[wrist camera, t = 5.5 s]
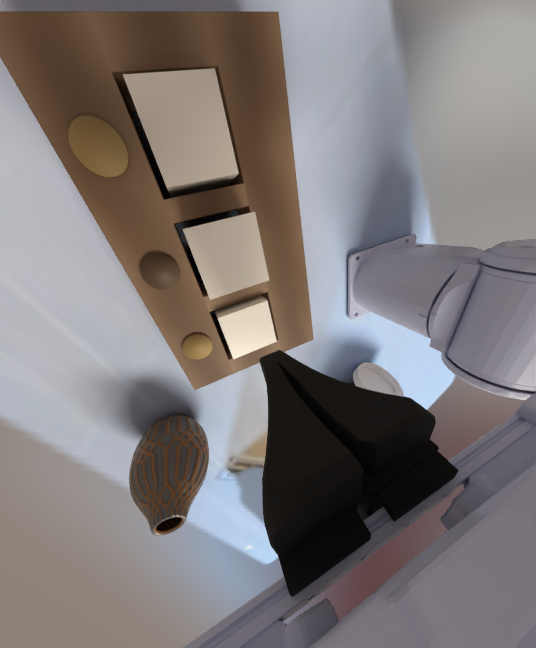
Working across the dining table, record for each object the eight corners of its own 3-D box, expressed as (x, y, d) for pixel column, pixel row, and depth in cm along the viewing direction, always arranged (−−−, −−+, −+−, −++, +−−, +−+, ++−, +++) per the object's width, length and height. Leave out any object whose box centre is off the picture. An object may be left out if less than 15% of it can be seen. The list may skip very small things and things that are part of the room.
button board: (256, 62, 12) (279, 7, 9) (296, 324, 22) (314, 340, 19) (36, 75, 10) (-32, 6, 7) (193, 366, 20) (195, 391, 17)
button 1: (206, 111, 12) (214, 68, 9) (225, 186, 14) (238, 173, 11) (140, 119, 12) (122, 74, 8) (170, 197, 14) (166, 187, 10)
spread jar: (318, 427, 34) (372, 509, 24) (311, 383, 28) (379, 466, 18) (373, 396, 36) (442, 459, 27) (377, 350, 31) (467, 407, 21)
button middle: (238, 215, 14) (255, 211, 11) (251, 269, 16) (269, 280, 13) (182, 228, 13) (182, 229, 10) (204, 284, 15) (210, 299, 12)
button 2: (252, 287, 18) (267, 300, 15) (261, 322, 20) (276, 341, 17) (211, 301, 18) (217, 318, 14) (224, 336, 20) (233, 359, 16)
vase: (122, 437, 20) (87, 555, 13) (173, 395, 20) (167, 488, 13) (174, 456, 24) (170, 555, 17) (217, 419, 24) (231, 503, 17)
